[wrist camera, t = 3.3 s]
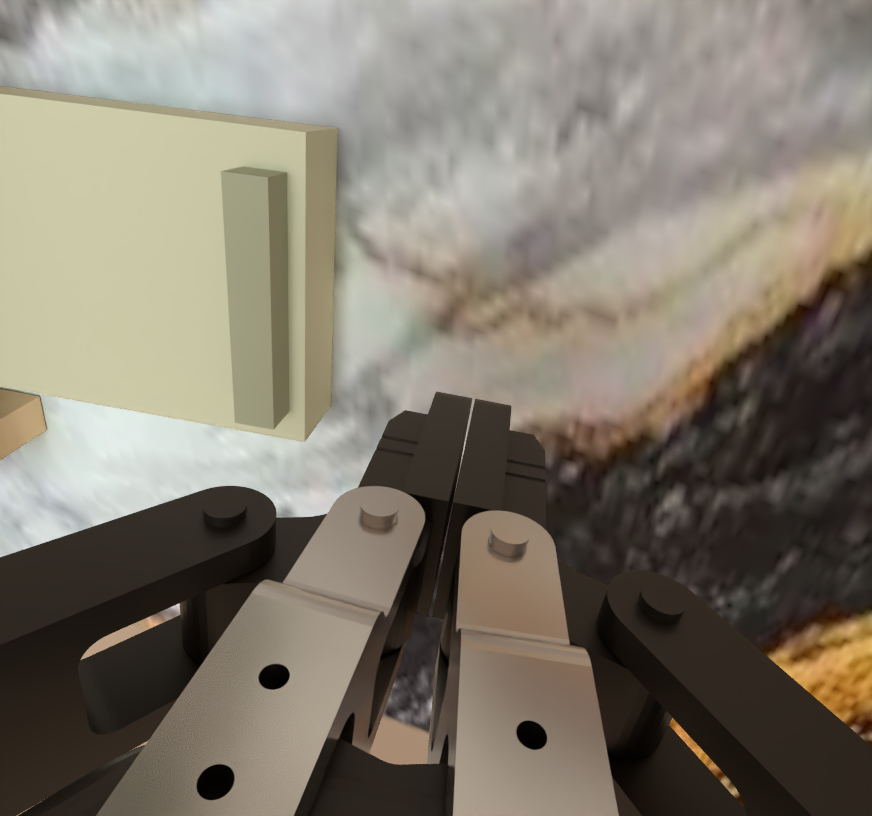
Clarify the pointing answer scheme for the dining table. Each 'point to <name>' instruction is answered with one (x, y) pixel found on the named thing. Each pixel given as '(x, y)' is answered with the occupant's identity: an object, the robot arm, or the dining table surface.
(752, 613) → the dining table surface
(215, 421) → the panel
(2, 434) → the wooden c-channel bracket
